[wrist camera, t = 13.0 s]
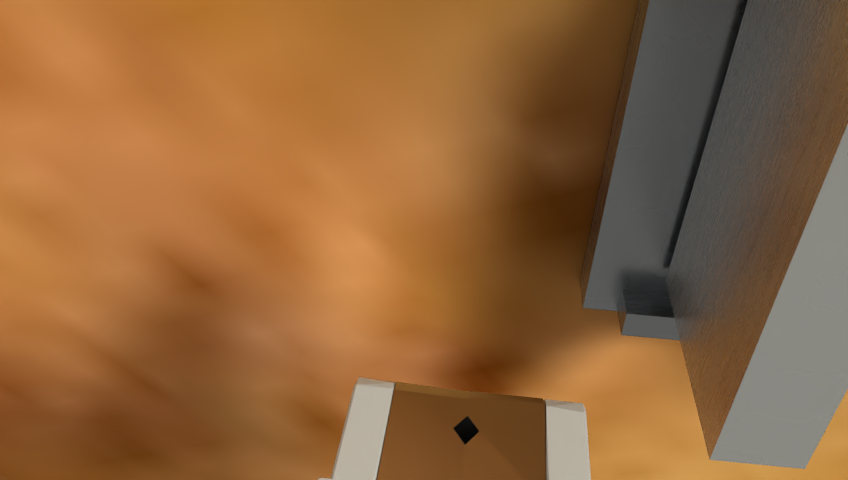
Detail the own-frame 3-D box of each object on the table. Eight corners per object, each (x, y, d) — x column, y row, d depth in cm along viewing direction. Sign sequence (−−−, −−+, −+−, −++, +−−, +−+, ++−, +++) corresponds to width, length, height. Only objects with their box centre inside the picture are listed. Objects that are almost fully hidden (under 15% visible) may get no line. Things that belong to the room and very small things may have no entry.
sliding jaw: (665, 280, 22) (709, 459, 17) (795, -162, 15) (929, -76, 10) (738, 287, 21) (804, 468, 17) (902, -155, 15) (1089, -66, 10)
